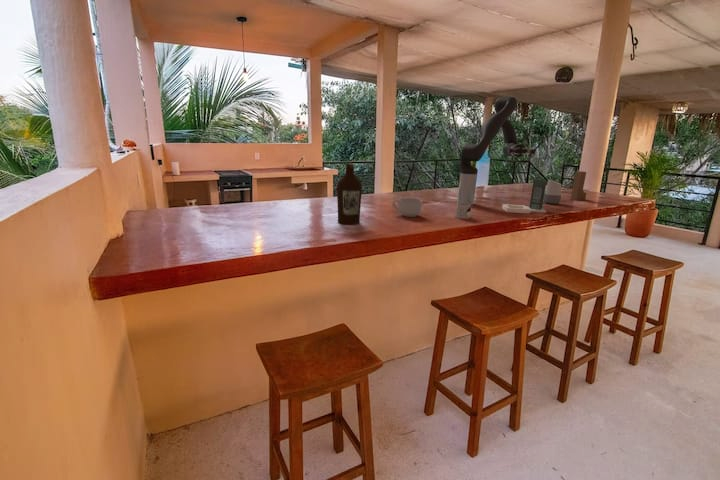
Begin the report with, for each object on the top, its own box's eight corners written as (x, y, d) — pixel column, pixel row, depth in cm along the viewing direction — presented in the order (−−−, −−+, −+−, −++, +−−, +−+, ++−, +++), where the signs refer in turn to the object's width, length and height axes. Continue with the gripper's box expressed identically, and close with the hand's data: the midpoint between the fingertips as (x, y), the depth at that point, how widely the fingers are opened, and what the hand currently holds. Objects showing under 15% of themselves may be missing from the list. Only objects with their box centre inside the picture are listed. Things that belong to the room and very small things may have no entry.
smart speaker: (561, 205, 215) (565, 181, 211) (543, 204, 218) (547, 180, 214) (558, 202, 224) (562, 179, 220) (541, 201, 227) (545, 178, 223)
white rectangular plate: (530, 211, 195) (530, 209, 194) (525, 208, 204) (525, 206, 204) (546, 212, 193) (546, 210, 193) (540, 208, 203) (540, 207, 202)
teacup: (422, 214, 180) (423, 198, 177) (418, 219, 170) (419, 202, 168) (395, 211, 184) (395, 196, 182) (389, 216, 174) (390, 199, 172)
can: (542, 208, 199) (547, 180, 195) (540, 210, 195) (545, 181, 190) (530, 206, 203) (534, 179, 198) (528, 208, 198) (533, 180, 193)
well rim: (506, 211, 192) (507, 208, 191) (502, 207, 203) (502, 204, 202) (530, 213, 190) (530, 209, 190) (524, 209, 201) (525, 205, 201)
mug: (469, 219, 172) (470, 205, 170) (454, 218, 174) (456, 204, 172) (470, 215, 181) (472, 202, 179) (456, 214, 183) (458, 201, 181)
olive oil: (334, 219, 164) (335, 162, 156) (357, 219, 166) (359, 163, 159) (338, 225, 154) (339, 165, 147) (363, 225, 156) (365, 165, 149)
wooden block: (579, 198, 242) (584, 171, 237) (585, 199, 238) (591, 171, 233) (570, 199, 238) (575, 171, 233) (576, 200, 234) (582, 172, 229)
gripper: (506, 143, 222) (512, 144, 206) (531, 144, 220) (539, 145, 204) (504, 156, 224) (510, 157, 208) (529, 157, 222) (537, 159, 206)
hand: (524, 151), depth 206 cm, fingers open, 8 cm apart
